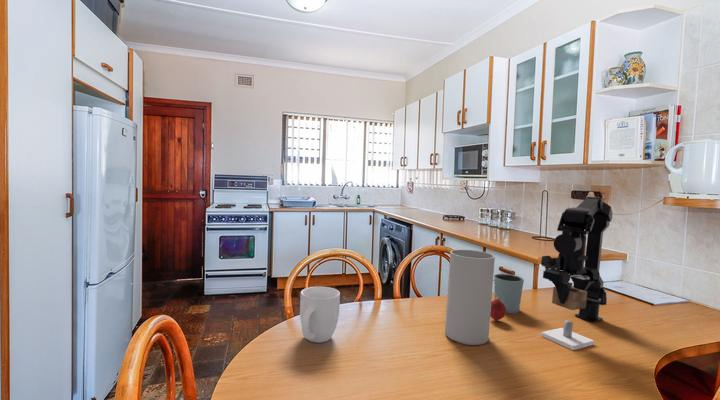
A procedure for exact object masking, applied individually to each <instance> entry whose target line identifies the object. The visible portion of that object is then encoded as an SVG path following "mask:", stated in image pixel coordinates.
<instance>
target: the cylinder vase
mask: <svg viewBox="0 0 720 400" xmlns="http://www.w3.org/2000/svg"><path fill="white" fill-rule="evenodd" d="M495 258H496V256H495V254H492V253H489V252H486V251H480V250H475V249H474V250H473V249H452V250H450V252H449V265H448V280H447V294H446V295H447V296H446V308H445V309H446V310H445V311H446V312H445V325H444V334H445V335H446V337H447V338H449V339H450V340H452V341H454V342H456V343H459V344H462V345H467V346H481V345H484V344H486V343H487V342H488V341H489V338H490V337H489V335H490V325H491V323H490V322H491V316H490V313H491V302H492V301H493V300H492V298H493V288H494V286H493V284H494V275H495V274H494V272H495V260H496V259H495Z"/></svg>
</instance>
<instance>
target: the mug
mask: <svg viewBox="0 0 720 400" xmlns="http://www.w3.org/2000/svg"><path fill="white" fill-rule="evenodd" d="M340 299H341V293H340V291H339V290H338V289H336V288H333V287H329V286H309V287H306V288H304V289H302V290H300V301H299V303H300V304H299V313H300V314H299V320H300V325H301V331H302V336H303V337H304V339H306V340H308V341H309V342H312V343H325V342H327V341H329V340H330V339H331V338H332V337H333V335H334V333H335V331H336V328H337V325H338V321H339V315H340V307H341V306H340V302H341V300H340Z"/></svg>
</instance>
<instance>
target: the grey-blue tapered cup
mask: <svg viewBox="0 0 720 400" xmlns="http://www.w3.org/2000/svg"><path fill="white" fill-rule="evenodd" d="M524 281H525V279H524V278H523V277H522V276H518V275H514V274H509V273H497V274H493V284H494V286H493V288H494V291H493V292H494V298H493V301H494V300H495V299H496V298H497V297H499V298H500V299H499V300H500V301H501V302H502V303H503V304H504V305H505V307H506V314H507V313H508V314H518V313H519V312H520V308H521V301H522V300H521V299H522V293H523V287H524Z"/></svg>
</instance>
